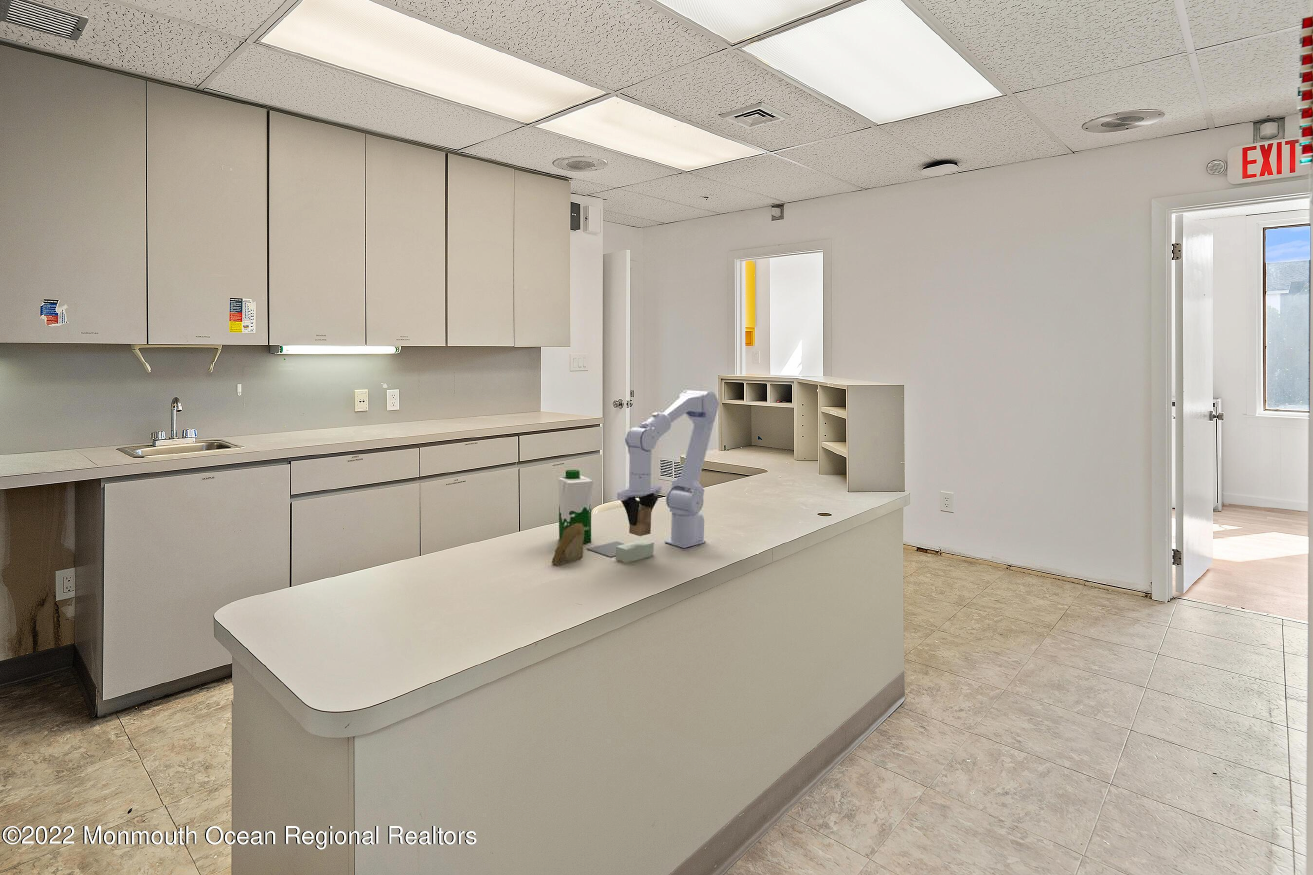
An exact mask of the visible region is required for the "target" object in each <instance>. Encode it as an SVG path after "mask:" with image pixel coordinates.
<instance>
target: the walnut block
mask: <svg viewBox="0 0 1313 875" xmlns="http://www.w3.org/2000/svg"><path fill="white" fill-rule="evenodd" d="M651 509H652V508H650V507H646V506H642V505H640V506H639V509H638V516H637V524H636V526H633V525H630V524H628V525H629V529H628V533H629V534H631V535H635V536H638V537H643V536H647V535H651V533H652V532H651V531H652V530H651V528H652V512H651Z"/></svg>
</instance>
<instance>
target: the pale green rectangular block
mask: <svg viewBox="0 0 1313 875" xmlns="http://www.w3.org/2000/svg"><path fill="white" fill-rule="evenodd" d="M654 547H655V542H653V541H649V540H646V539H640V540H636V541H632V542H628V543H624V545H619V546H616V556H615V560H616V561H620V562H622V563H626V564H627V563H631V562H635V561H639V560H641V559H646V558H649V557H652V556H655V555H654V552H655V550H654V549H655V548H654Z"/></svg>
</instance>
